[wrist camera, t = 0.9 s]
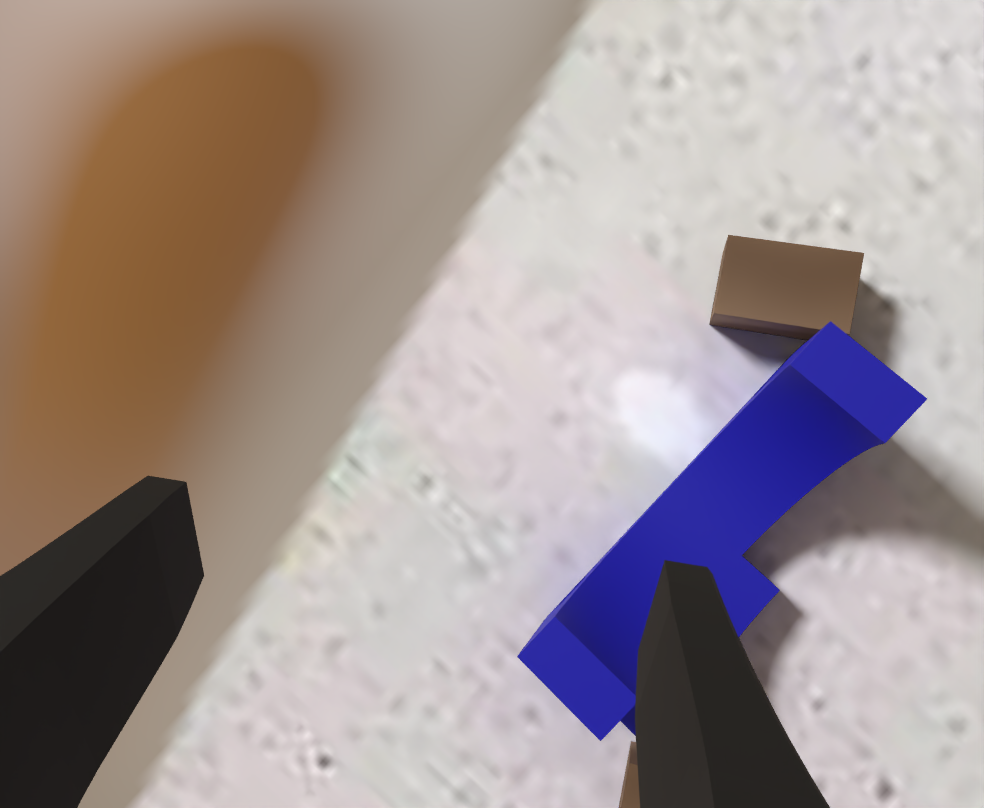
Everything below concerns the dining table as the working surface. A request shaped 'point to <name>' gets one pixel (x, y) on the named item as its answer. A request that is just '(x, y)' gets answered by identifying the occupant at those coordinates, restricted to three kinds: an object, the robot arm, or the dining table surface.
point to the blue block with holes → (718, 518)
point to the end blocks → (775, 320)
